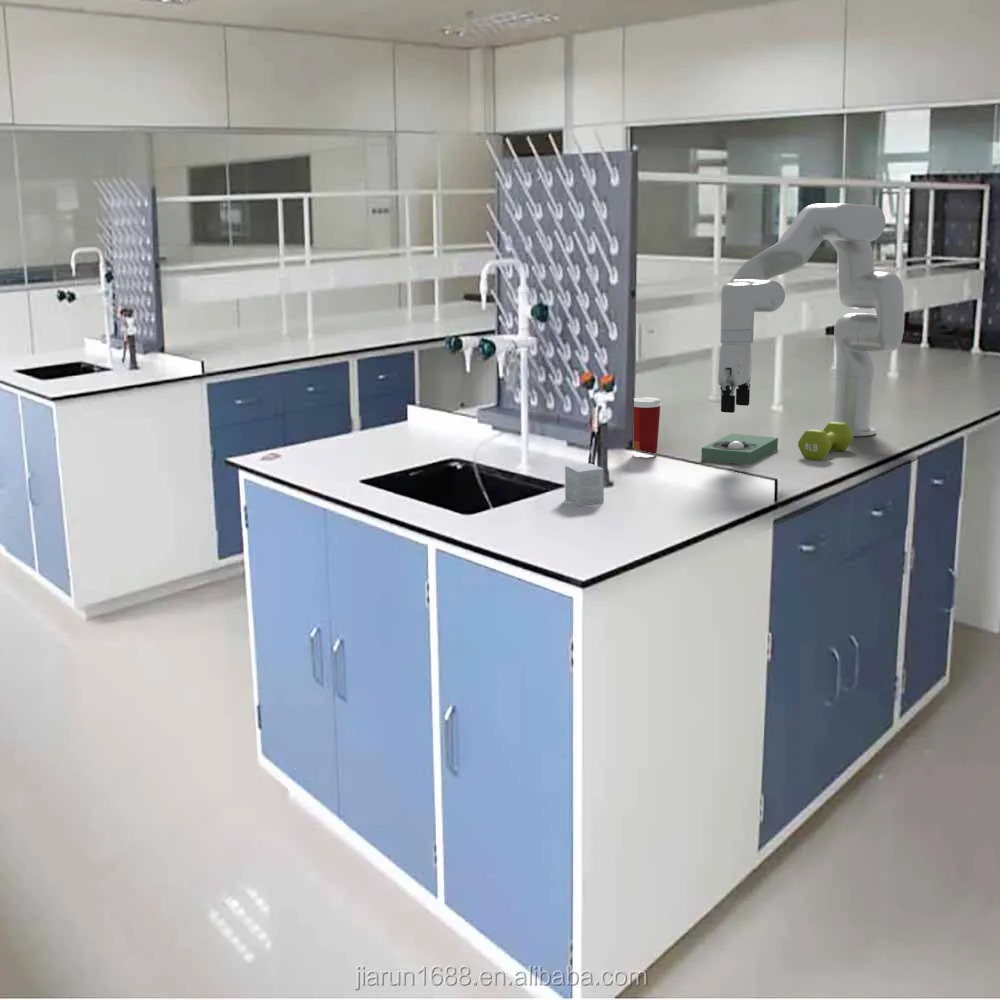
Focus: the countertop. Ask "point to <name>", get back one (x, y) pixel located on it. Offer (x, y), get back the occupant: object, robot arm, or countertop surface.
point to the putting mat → (740, 449)
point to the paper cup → (646, 423)
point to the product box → (584, 484)
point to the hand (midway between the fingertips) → (735, 408)
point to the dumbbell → (825, 440)
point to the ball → (735, 445)
